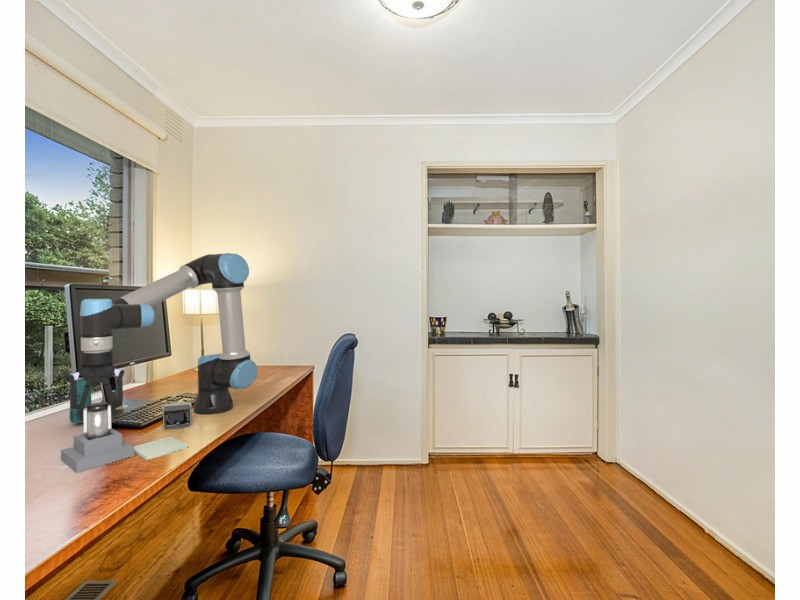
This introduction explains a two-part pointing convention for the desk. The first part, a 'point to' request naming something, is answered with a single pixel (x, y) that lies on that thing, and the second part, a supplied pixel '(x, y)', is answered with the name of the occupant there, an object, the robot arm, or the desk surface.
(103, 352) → the robot arm
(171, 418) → the electrical switch
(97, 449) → the socket block
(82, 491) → the desk surface
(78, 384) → the beverage bottle
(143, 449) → the sage board
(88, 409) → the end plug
